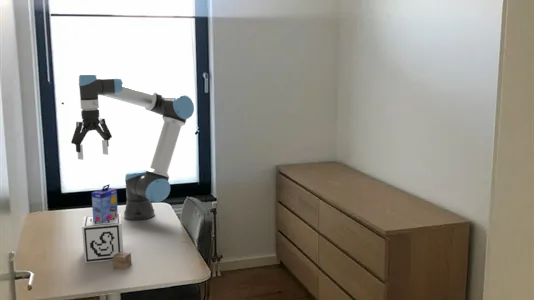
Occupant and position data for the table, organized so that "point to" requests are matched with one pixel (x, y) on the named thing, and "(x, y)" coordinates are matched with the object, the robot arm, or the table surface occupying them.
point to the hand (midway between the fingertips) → (93, 156)
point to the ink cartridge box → (104, 204)
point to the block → (101, 239)
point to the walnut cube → (122, 260)
